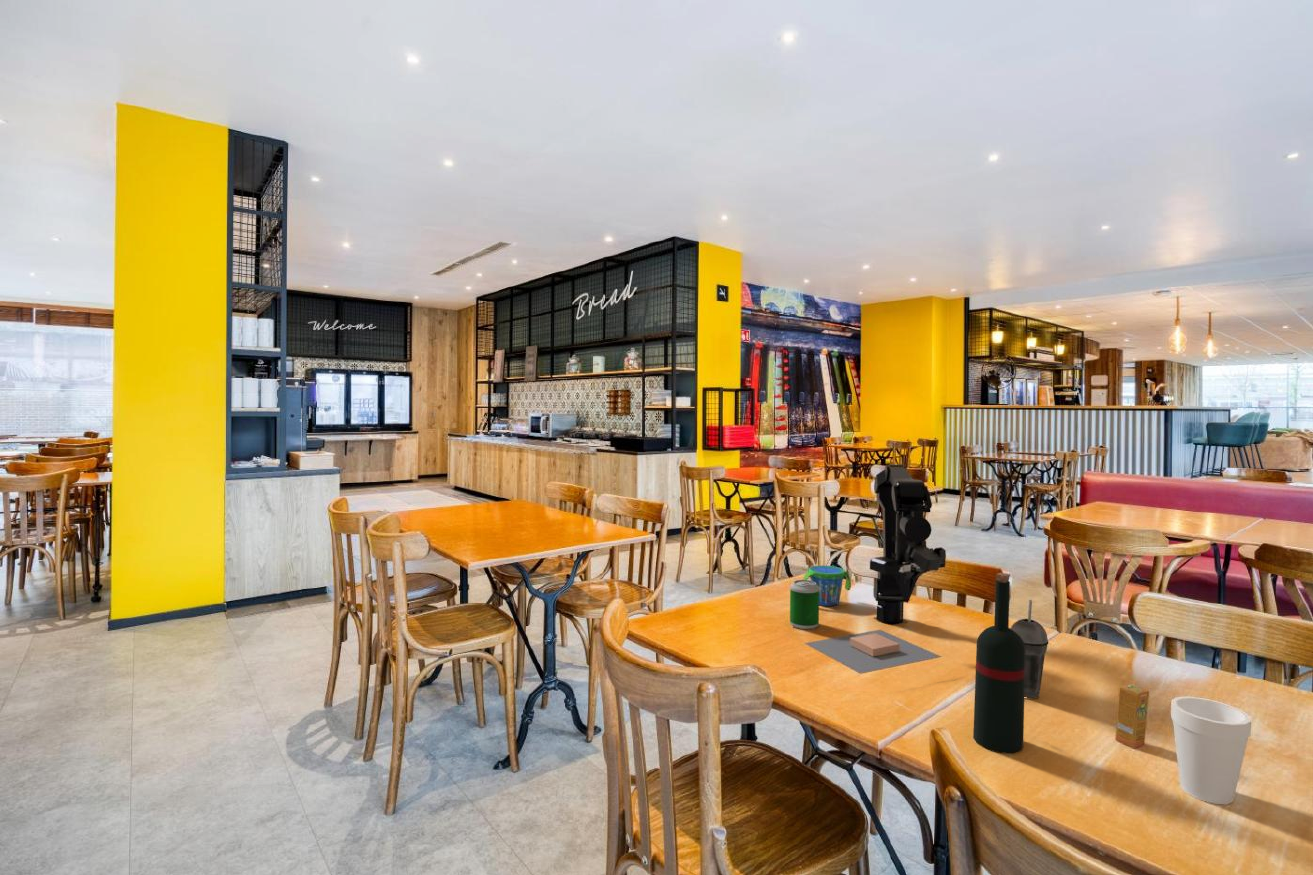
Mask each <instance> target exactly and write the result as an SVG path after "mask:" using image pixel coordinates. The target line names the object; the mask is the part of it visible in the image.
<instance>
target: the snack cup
mask: <svg viewBox="0 0 1313 875" xmlns="http://www.w3.org/2000/svg"><path fill="white" fill-rule="evenodd" d="M808 579H809V581H813V582H815V583H816V585H818V586H819V606H824V607H830V606H832V607H833V606H838V605H839V602H840V599H841V594H842V588H843V580H844V579H845V584H844V589H845V590H847V591H851V586H852V582H851V577H850V575H849V573H848V572H847V571H845V570H844V568H841V567H839V566H838V567H837V566H832V565H821V564H820V565H813V566H810V567H809V568H808V570H807V571H806V573H805V574H804V576H803V578H802V580H808Z"/></svg>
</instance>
